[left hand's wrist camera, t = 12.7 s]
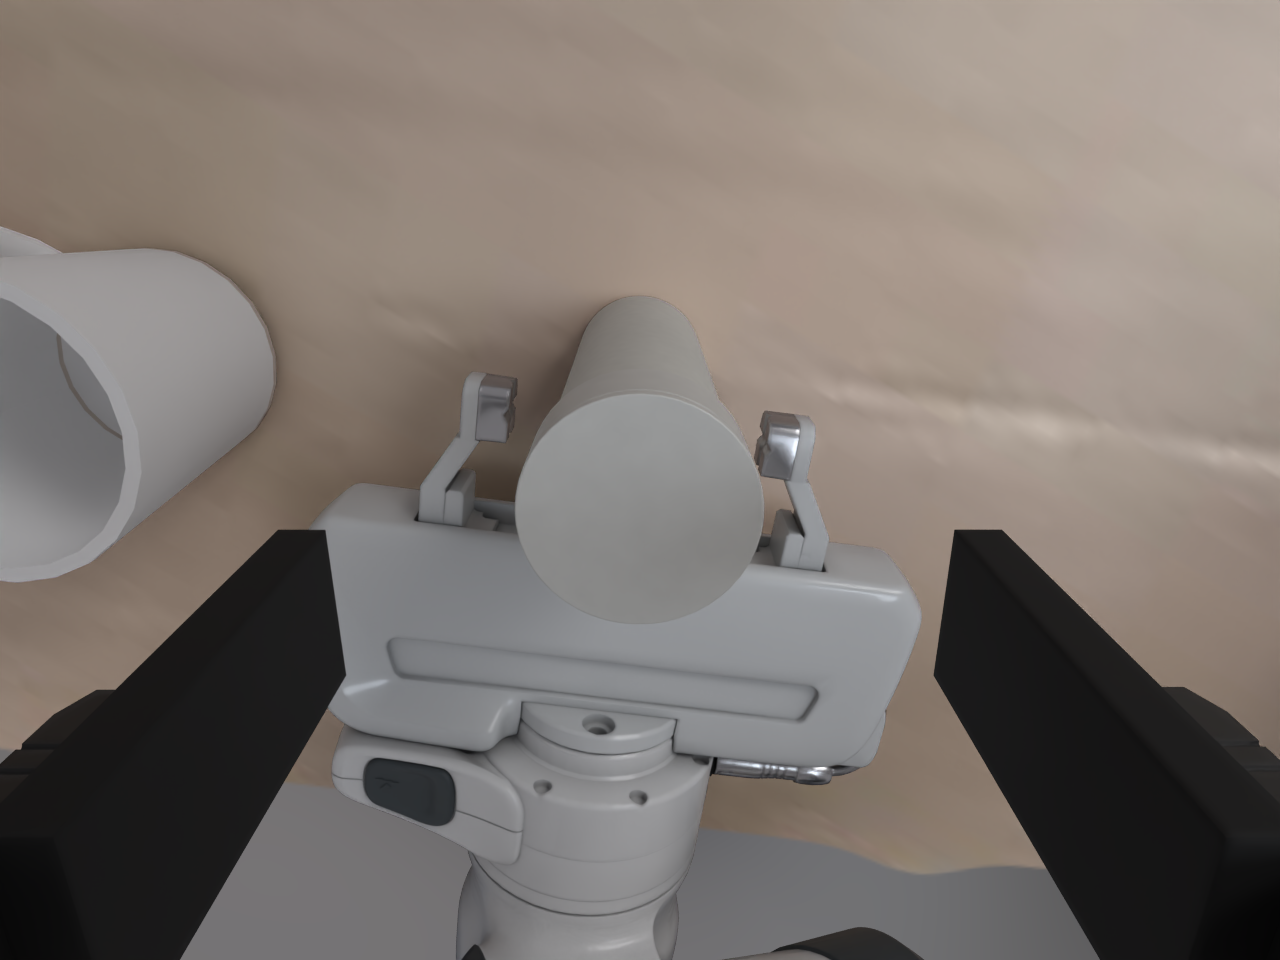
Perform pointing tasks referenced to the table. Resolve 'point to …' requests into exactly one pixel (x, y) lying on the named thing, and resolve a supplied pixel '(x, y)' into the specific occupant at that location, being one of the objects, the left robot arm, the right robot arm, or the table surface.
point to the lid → (639, 498)
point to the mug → (114, 392)
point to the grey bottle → (639, 343)
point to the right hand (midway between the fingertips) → (641, 397)
